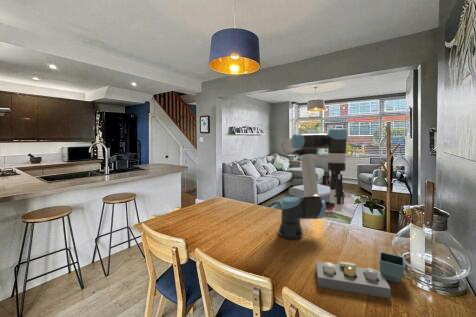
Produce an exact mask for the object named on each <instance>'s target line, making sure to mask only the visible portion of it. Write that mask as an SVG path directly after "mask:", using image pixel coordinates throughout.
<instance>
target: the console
mask: <svg viewBox="0 0 476 317" xmlns="http://www.w3.org/2000/svg"><path fill="white" fill-rule="evenodd" d="M324 263H325V262H324V261H323V262H322V261H315V272H316V273H315V274H316V280H317V287H319V288H326V289H332V290H337V291H344V292H349V293H357V294H361V295H367V296H373V297H379V298H385V299H391V294H392V289H391V287H390V284H389V283H388V282H387V281H388V280H386V279H385V278H384V277H383V275H382V273H381V272H380V269H379V270H378V269H375V270H376V271H377V272H378V276H377V281H372V280H366V278H365V269H366V268H367V267H358V266H356V278H352V277H346V276H344V267H340V263H339V264H338V263H333V264H334V265H335V275H333V274H326V273H324Z"/></svg>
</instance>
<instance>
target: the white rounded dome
mask: <svg viewBox="0 0 476 317" xmlns="http://www.w3.org/2000/svg"><path fill="white" fill-rule="evenodd" d="M365 268H366V269H365V278H366V280H372V281H377V276H378V272H377V271H376V270H377V269H374V268H372V267H365Z"/></svg>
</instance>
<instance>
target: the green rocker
mask: <svg viewBox="0 0 476 317" xmlns="http://www.w3.org/2000/svg"><path fill="white" fill-rule="evenodd" d="M339 265H340V267H344V266H345V265H351V266H353V267H355V268H356V267H357V265H356V263H354V262H348V261H347V262H346V261H339Z"/></svg>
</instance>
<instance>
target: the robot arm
mask: <svg viewBox="0 0 476 317" xmlns="http://www.w3.org/2000/svg"><path fill="white" fill-rule="evenodd" d="M347 133H348V132H347V129H345V128H330V129H329V131H328V133H296V134H295V133H294V134H292V137H290V138H286V139H285V140H283V141H282V142H281V150H282V151H283V152H284V153H285V154H288V155H291V156H298V159H299V160H300V162H301V174H302V183H303V194H304V195H303V196H302V197H301V198H300V197H298V196H296V197H295V196H289V197H286V198H283V199H282V200H281V206H280V208H281V216H280V217H281V222H280V225H279V228H278V235H279V236H280V237H281V238H283V239H286V240H299V239H302V238H303V236H304V231H303V229H302V226H301V220H319V219H320V220H321V219H323V218H324V217H325V215H326V210H327V204H326V201H325V200H324V199H322V196H321V195H320V194H319V189H318V180H317V173H316V172H317V171H316V162H315V159H316V158H317V155H318V154H319V152H320V150H321V149H327V150H328V153H327V154H328V155H327V161H328V163H327V170H328V171H330V178H329V180H330V181H329V203H331V204H332V203H333V204H334V212H343V210H342V209H343V205H342V204H343V198H344V188H343V187H344V186H343V174H341V172H345V171H346V169H347V168H346V165H347V164H346V159H347V157H348V154H347V140H348V135H347Z"/></svg>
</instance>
